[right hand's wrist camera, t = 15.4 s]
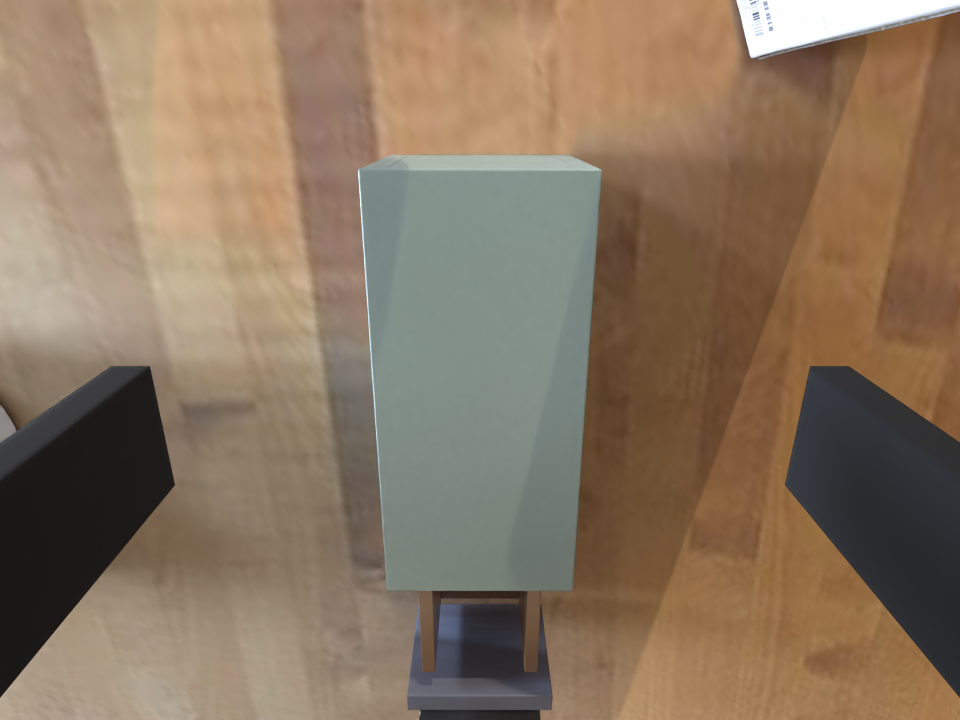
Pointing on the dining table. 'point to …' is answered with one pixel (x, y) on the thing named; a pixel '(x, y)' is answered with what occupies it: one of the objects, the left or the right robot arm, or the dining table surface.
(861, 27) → the hard drive box
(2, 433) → the left robot arm
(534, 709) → the drawer
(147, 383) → the right robot arm
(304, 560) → the dining table surface
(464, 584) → the cabinet
